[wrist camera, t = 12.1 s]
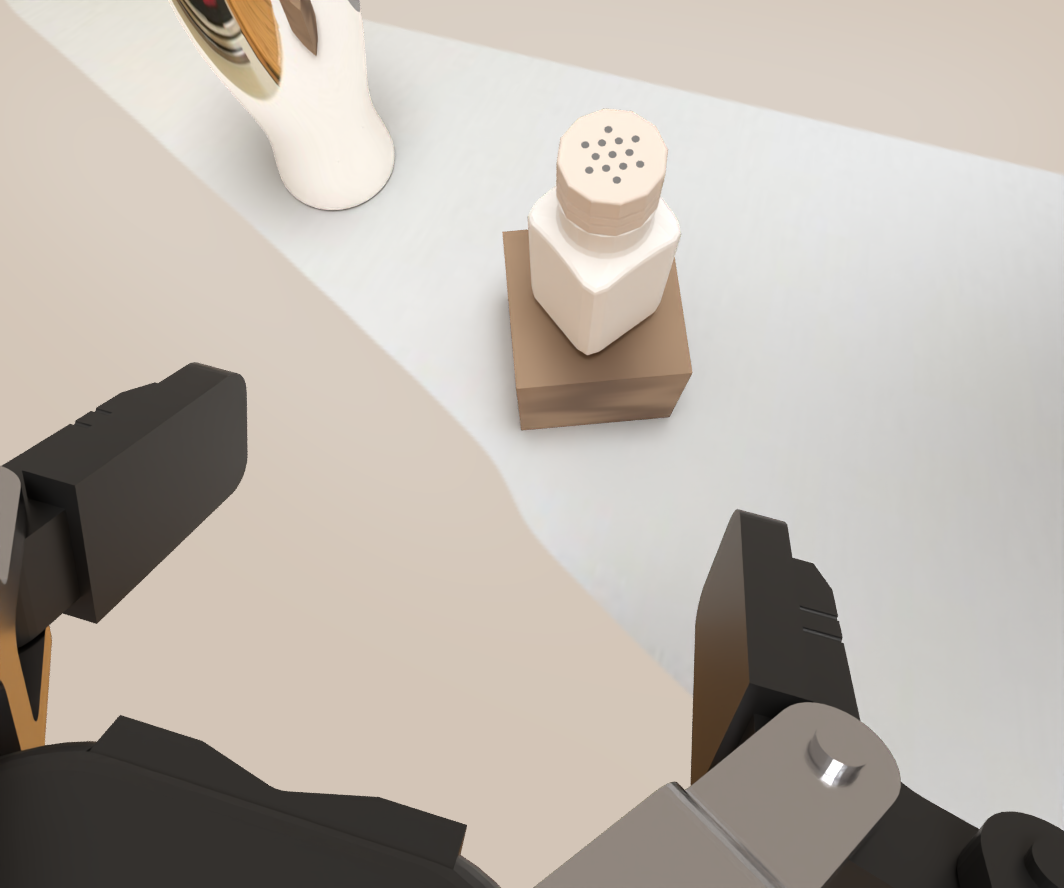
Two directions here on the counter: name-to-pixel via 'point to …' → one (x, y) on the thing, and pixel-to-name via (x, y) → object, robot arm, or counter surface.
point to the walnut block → (592, 358)
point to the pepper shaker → (603, 230)
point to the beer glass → (300, 90)
